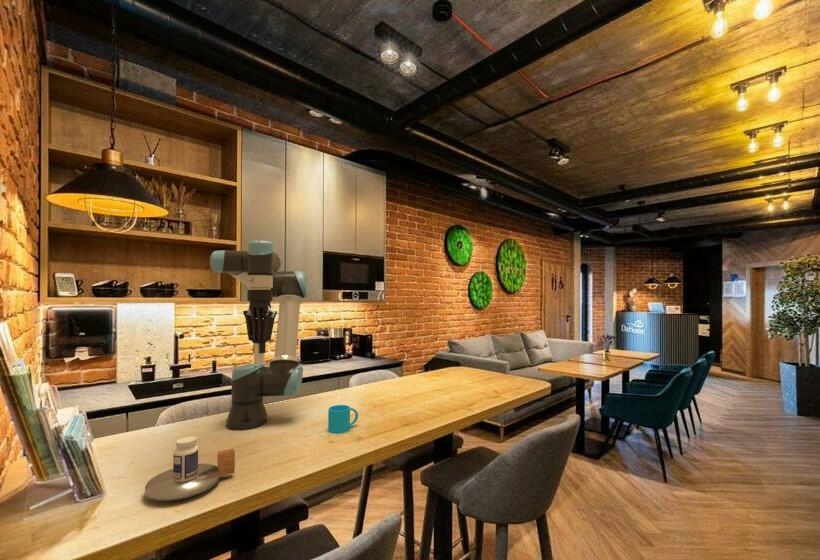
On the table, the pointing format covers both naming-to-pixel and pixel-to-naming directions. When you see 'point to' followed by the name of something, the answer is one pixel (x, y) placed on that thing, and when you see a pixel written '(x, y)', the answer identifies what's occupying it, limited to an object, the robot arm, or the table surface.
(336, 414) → the mug
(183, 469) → the pill bottle
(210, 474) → the disc
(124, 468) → the table surface
